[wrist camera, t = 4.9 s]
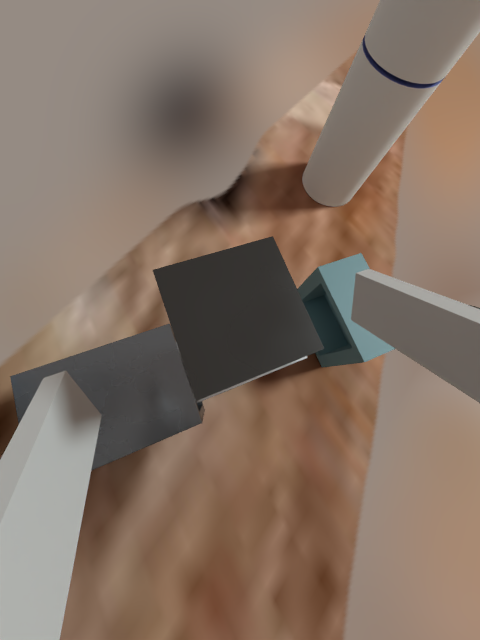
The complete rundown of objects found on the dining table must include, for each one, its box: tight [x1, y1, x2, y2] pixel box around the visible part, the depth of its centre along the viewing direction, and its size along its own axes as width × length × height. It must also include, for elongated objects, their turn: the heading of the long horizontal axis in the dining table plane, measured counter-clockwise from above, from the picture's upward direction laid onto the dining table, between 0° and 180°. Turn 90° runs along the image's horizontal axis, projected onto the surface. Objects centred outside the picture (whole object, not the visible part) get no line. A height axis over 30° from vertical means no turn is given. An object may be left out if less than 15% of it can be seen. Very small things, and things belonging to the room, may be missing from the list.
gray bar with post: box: [153, 236, 324, 403], centre depth 13 cm, size 18×5×17 cm, turn 111°
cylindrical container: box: [302, 0, 480, 207], centre depth 19 cm, size 7×7×25 cm
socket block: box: [297, 253, 395, 367], centre depth 22 cm, size 4×8×7 cm, turn 21°
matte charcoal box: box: [10, 324, 205, 470], centre depth 18 cm, size 10×7×7 cm
